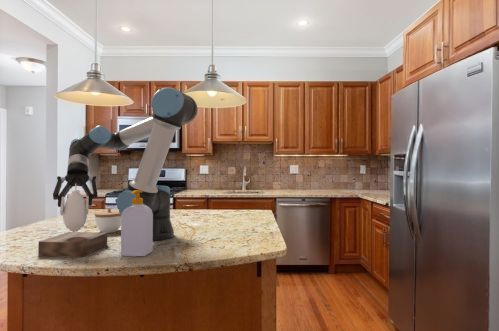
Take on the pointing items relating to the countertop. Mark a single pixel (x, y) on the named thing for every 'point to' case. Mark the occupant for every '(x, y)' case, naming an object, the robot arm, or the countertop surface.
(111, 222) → the lidded bowl
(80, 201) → the grey teardrop shape
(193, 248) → the countertop surface
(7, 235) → the countertop surface
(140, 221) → the soap bottle
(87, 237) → the walnut stand
